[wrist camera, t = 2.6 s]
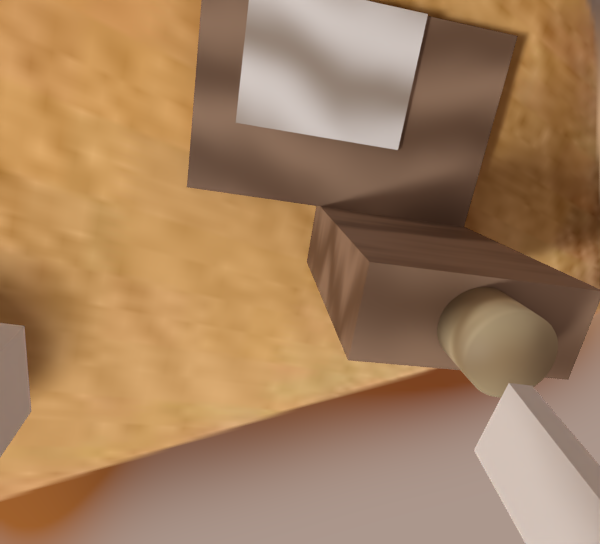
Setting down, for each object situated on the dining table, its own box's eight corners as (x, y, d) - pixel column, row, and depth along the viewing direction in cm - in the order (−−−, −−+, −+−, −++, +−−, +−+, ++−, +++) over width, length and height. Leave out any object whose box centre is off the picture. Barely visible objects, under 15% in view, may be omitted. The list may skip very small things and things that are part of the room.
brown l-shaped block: (206, -26, 28) (130, -291, 10) (505, 40, 32) (835, -75, 14) (184, 250, 34) (111, 385, 16) (439, 281, 37) (611, 421, 20)
